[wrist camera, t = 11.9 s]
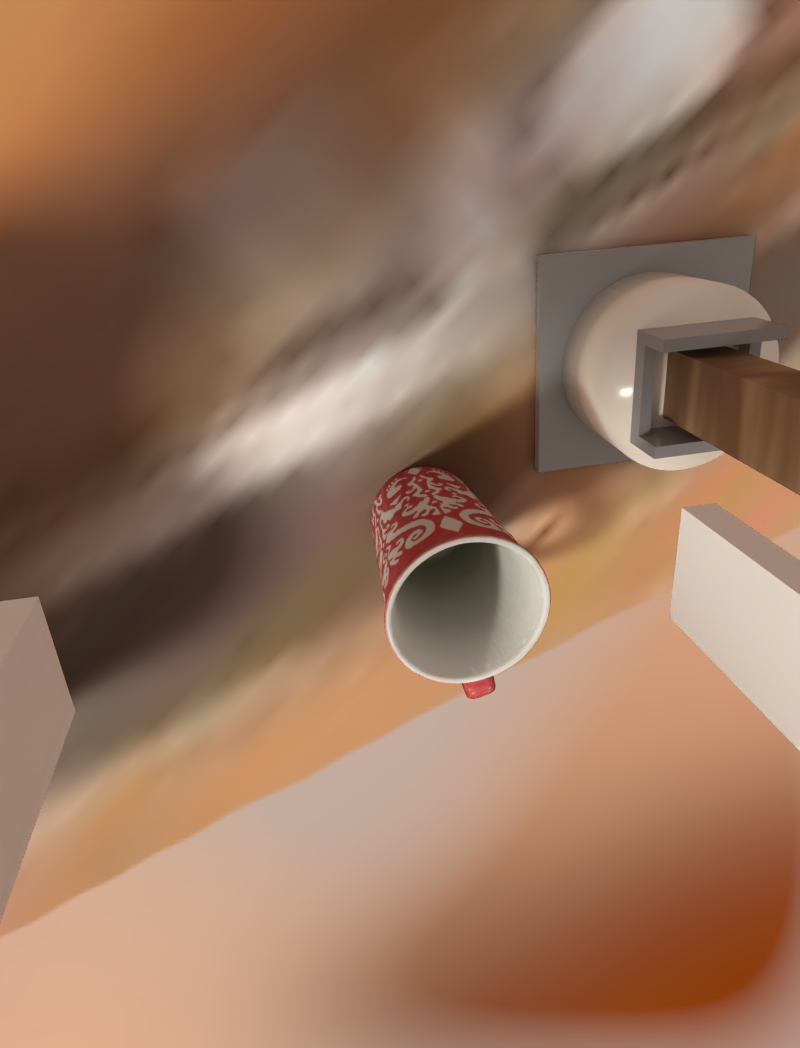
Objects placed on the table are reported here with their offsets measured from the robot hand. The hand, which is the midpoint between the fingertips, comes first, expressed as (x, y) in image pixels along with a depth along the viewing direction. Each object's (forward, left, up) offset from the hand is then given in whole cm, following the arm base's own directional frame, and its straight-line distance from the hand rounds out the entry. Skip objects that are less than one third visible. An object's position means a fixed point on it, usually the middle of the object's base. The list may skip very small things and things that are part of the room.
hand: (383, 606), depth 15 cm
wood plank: (+21, -4, -26) cm, 34 cm away
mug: (+7, -15, -33) cm, 36 cm away
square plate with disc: (+22, -4, -32) cm, 39 cm away
